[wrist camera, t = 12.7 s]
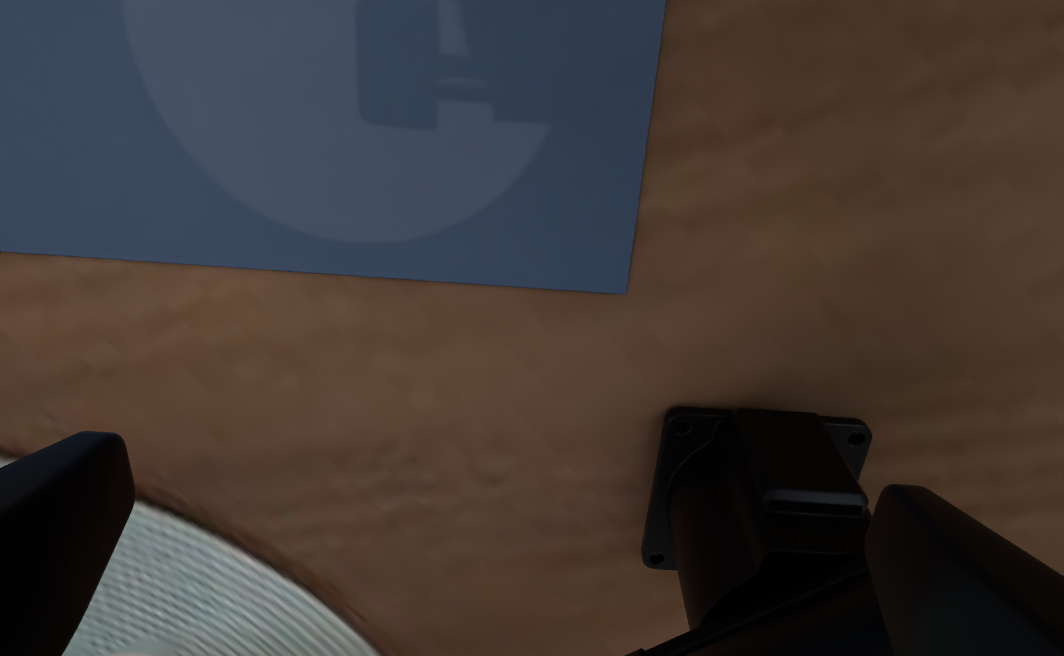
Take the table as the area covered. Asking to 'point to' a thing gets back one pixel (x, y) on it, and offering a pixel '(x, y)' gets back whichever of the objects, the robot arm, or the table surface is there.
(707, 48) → the table surface
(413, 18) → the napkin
